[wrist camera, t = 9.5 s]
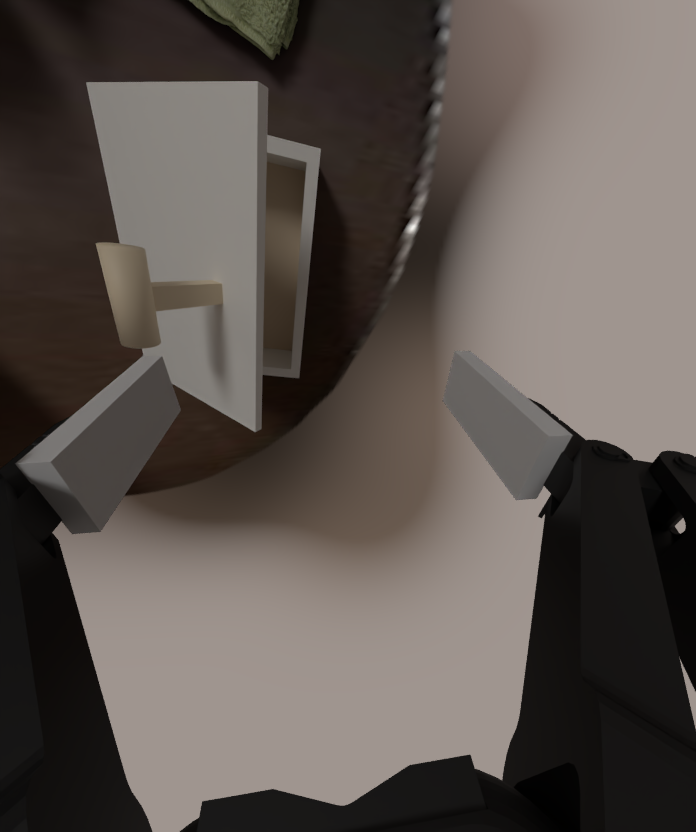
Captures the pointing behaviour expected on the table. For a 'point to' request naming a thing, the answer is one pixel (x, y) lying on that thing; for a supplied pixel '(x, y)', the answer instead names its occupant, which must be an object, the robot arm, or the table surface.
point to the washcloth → (256, 20)
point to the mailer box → (287, 251)
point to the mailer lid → (189, 231)
